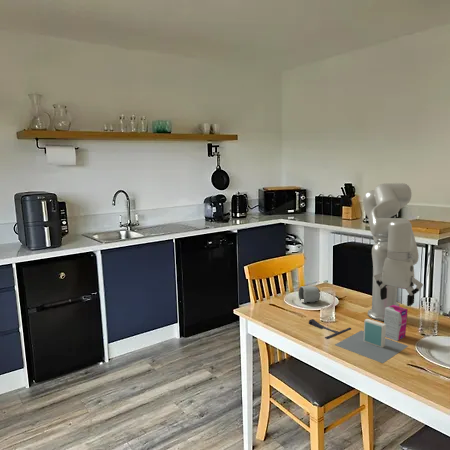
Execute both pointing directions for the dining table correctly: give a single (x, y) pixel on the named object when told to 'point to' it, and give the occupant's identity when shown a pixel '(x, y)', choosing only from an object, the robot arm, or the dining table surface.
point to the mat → (371, 347)
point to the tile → (374, 332)
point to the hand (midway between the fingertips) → (396, 302)
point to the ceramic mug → (309, 293)
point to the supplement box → (395, 322)
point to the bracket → (316, 324)
